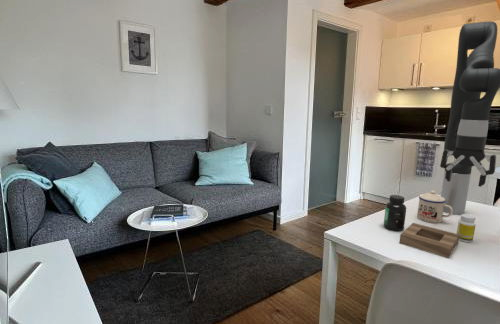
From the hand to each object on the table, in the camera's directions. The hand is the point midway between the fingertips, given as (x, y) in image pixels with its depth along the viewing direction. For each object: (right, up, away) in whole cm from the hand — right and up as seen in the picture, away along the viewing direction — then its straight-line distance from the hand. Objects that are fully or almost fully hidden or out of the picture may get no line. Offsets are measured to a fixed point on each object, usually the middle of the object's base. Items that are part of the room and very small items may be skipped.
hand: (463, 183), depth 98 cm
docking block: (-11, -20, +1) cm, 23 cm away
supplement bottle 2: (+3, -20, +4) cm, 20 cm away
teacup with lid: (+3, -16, +21) cm, 27 cm away
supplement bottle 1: (-17, -18, +13) cm, 28 cm away
